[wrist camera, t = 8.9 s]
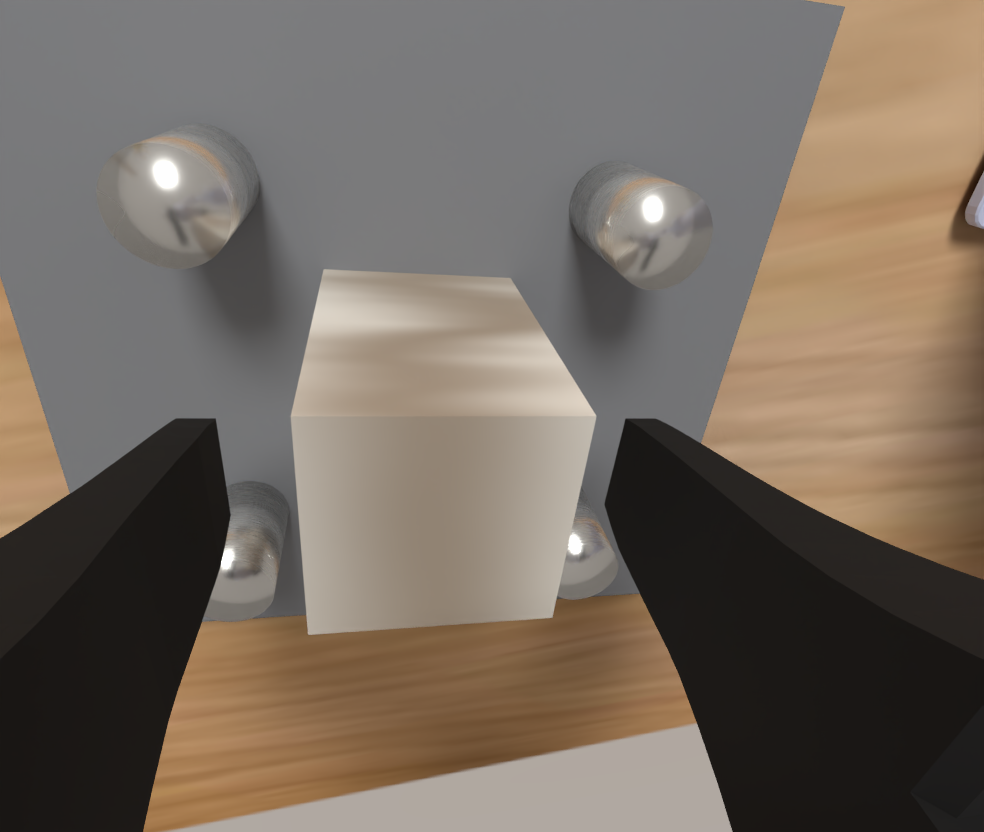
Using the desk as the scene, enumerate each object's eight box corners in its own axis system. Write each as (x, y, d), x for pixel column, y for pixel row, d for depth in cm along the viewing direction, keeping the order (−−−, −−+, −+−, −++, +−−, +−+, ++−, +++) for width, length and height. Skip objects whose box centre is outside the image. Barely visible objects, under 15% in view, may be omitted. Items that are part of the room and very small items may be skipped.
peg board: (806, 10, 13) (966, -6, 9) (637, 566, 21) (689, 666, 17) (-82, -126, 9) (-335, -226, 6) (127, 594, 17) (69, 723, 14)
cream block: (510, 277, 13) (596, 416, 8) (492, 430, 15) (552, 617, 10) (323, 269, 12) (291, 416, 7) (330, 431, 14) (307, 635, 9)
